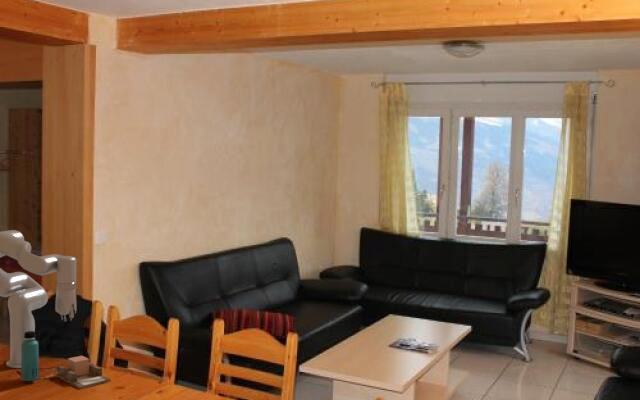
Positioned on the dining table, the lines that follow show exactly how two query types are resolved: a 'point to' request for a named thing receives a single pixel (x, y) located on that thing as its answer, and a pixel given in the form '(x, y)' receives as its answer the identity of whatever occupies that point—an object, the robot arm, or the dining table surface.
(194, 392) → the dining table surface
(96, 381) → the chute
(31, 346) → the beverage bottle
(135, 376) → the dining table surface
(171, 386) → the dining table surface
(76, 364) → the block
